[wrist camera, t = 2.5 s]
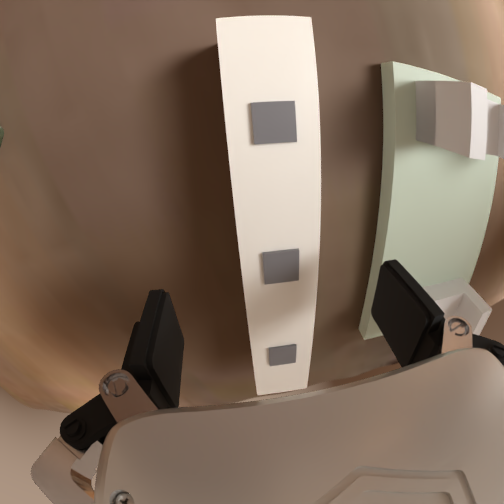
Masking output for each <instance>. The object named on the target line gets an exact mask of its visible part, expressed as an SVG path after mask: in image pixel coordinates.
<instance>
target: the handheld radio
mask: <svg viewBox="0 0 504 504" xmlns="http://www.w3.org/2000/svg"><path fill="white" fill-rule="evenodd" d="M3 136H4V130H3V128H2V127H1V126H0V146H1V143H2V139H3Z"/></svg>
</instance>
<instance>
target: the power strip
mask: <svg viewBox="0 0 504 504" xmlns="http://www.w3.org/2000/svg"><path fill="white" fill-rule="evenodd" d="M216 28H217V40H218V51H219V62H220V73H221V84H222V95H223V105H224V115H225V125H226V135H227V145H228V155H229V164H230V174H231V183H232V192H233V201H234V210H235V219H236V228H237V237H238V246H239V254H240V263H241V271H242V280H243V288H244V296H245V304H246V312H247V320H248V328H249V336H250V344H251V352H252V360H253V367H254V375H255V382H256V390H257V395H264V394H272V393H279V392H286V391H293V390H299V389H305V388H307V383H308V376H309V368H310V360H311V351H312V342H313V332H314V322H315V310H316V298H317V284H318V268H319V248H320V219H321V143H320V115H319V97H318V82H317V69H316V57H315V47H314V38H313V29H312V21H311V17H301V16H240V17H226V18H216Z"/></svg>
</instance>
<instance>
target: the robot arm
mask: <svg viewBox="0 0 504 504" xmlns="http://www.w3.org/2000/svg"><path fill="white" fill-rule="evenodd" d="M444 314H445V313H444V312H443V311H442V310H441V308H440V307H439V306H438V305H437V304H436V302H435V301H434V300H433V299H432V298H431V297H430V295H429V294H428V293H427V292H426V291H425V290H424V289H423V288H422V286H421V285H420V284H419V283H418V282H417V281H416V280H415V279H414V278H413V276H412V275H411V274H410V273H409V272H408V271H407V270H406V269H405V268H404V267H403V266H402V265H401V264H400V263H399V262H398V261H397V260H396V259H394V260H388V261H384V263H383V265H381V266H380V271H379V276H378V281H377V286H376V290H375V295H374V299H373V304H372V308H371V315H372V317H373V319H374V321H375V322H376V324H377V326H378V327H379V329H380V330H381V332H382V334H383V336H384V337H385V339H386V341H387V342H388V344H389V346H390V347H391V349H392V351H393V353H394V354H395V356H396V358H397V360H398V361H399V363H400V365H401V367H402V368H399V369H396V370H393V371H390V372H387V373H383V374H380V375H377V376H373V377H370V378H366V379H363V380H359V381H355V382H352V383H348V384H344V385H340V386H336V387H331V388H327V389H323V390H318V391H313V392H308V393H303V394H297V395H292V396H286V397H280V398H273V399H266V400H259V401H251V402H243V403H232V404H222V405H210V406H195V407H181V408H178V406H179V395H180V382H181V371H182V360H183V350H184V338H183V335H182V332H181V329H180V326H179V323H178V320H177V317H176V314H175V311H174V308H173V304H172V301H171V298H170V295H169V293H168V292H165V291H164V290H163V289H161V290H151V291H150V292H149V295H148V298H147V301H146V304H145V307H144V310H143V314H142V317H141V320H140V322H136V323H135V325H134V327H133V331H132V334H131V337H130V341H129V344H128V347H127V351H126V354H125V358H124V362H123V365H122V369H121V370H119V369H118V370H113V371H111V372H109V373H107V374H106V375H105V376H104V377H103V378H102V379H101V381H100V384H99V391H100V394H99V395H97V396H96V397H94V398H93V399H92V400H90V401H89V402H87V403H86V404H84V405H83V406H81V407H80V408H78V409H77V410H76V411H74V412H73V413H71V414H70V415H68V416H67V417H66V418H65V419H64V420H63V421H62V423H61V427H60V434H61V436H60V437H59V438H58V439H57V438H56V437H55V438H54V439H53V440H52V442H51V443H50V444H49V445H48V447H47V448H46V449H45V450H44V451H43V453H42V454H41V455H40V456H39V458H38V459H37V460H36V461H35V463H34V464H33V466H32V468H31V476H32V479H33V481H34V482H35V484H36V485H37V486H38V487H39V488H40V489H41V491H42V492H43V493H44V494H45V495H46V496H47V497H48V498H49V500H50V501H51V502H52V503H53V504H504V345H502V344H501V343H499V342H497V341H494V340H491V339H488V338H485V337H482V336H479V335H476V334H473V333H472V327H471V325H470V323H469V322H468V321H467V320H466V319H464V318H462V317H460V316H450V317H448V318H447V319H445V318H444ZM97 466H98V467H97ZM96 468H97V470H95V469H96ZM96 472H97V475H96V483H95V491H94V490H93V488H92V485H91V480H92V478H93V476H94V474H95V473H96ZM129 493H130V494H129Z"/></svg>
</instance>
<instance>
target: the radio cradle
mask: <svg viewBox="0 0 504 504" xmlns="http://www.w3.org/2000/svg"><path fill="white" fill-rule="evenodd" d="M381 74H382V91H383V161H382V179H381V193H380V204H379V214H378V223H377V231H376V238H375V246H374V252H373V259H372V265H371V271H370V276H369V282H368V287H367V292H366V297H365V302H364V307H363V311H362V316H361V320H360V324H359V328H358V329H359V331H360V333H361V335H362V337H363V339H364V340H366V339H370V338H375V337H379V336H383V334H382V332H381V330H380V329H379V327H378V326H377V324H376V322H375V321H374V319H373V317H372V315H371V308H372V304H373V299H374V295H375V290H376V286H377V281H378V276H379V271H380V266H381V265H383V263H384V261H388V260H394V259H396V260H397V261H398V262H399V263H400V264H401V265H402V266H403V267H404V268H405V269H406V270H407V271H408V272H409V273H410V274H411V275H412V276H413V278H414V279H415V280H416V281H417V282H418V283H419V284H420V285H421V286H422V288H423V289H424V290H425V291H426V292H427V293H428V294H429V295H430V297H431V298H432V299H433V300H434V301H435V302H436V304H437V305H438V306H439V307H440V308H441V310H442V311H443V312H444V313H445V314H444V318H445V319H447V318H448V317H450V316H460V317H462V318H464V319H466V320H467V321H468V322H469V323H470V325H471V327H472V333H473V334H476V335H479V334H480V333H481V331H482V329H483V327H484V325H485V323H486V321H487V319H488V317H489V315H490V313H491V311H492V308H491V307H490V306H489V305H488V304H487V303H486V302H485V301H484V300H483V299H482V298H481V296H480V295H479V294H478V293H477V292H476V291H475V290H474V289H473V288H472V287H471V286H470V285H469V283H470V280H471V277H472V274H473V272H474V269H475V266H476V263H477V259H478V256H479V253H480V250H481V246H482V243H483V239H484V235H485V232H486V228H487V224H488V219H489V215H490V210H491V205H492V200H493V195H494V189H495V183H496V176H497V168H498V159H499V157H500V158H503V159H504V105H501V98H500V97H497V96H495V95H493V94H491V93H489V92H487V89H486V88H483V87H481V86H479V85H477V84H474V83H472V82H462V81H459V80H457V79H454V78H451V77H448V76H445V75H442V74H439V73H436V72H432V71H429V70H426V69H422V68H418V67H415V66H411V65H407V64H402V63H398V62H394V61H392V62H386V63H381Z"/></svg>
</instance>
